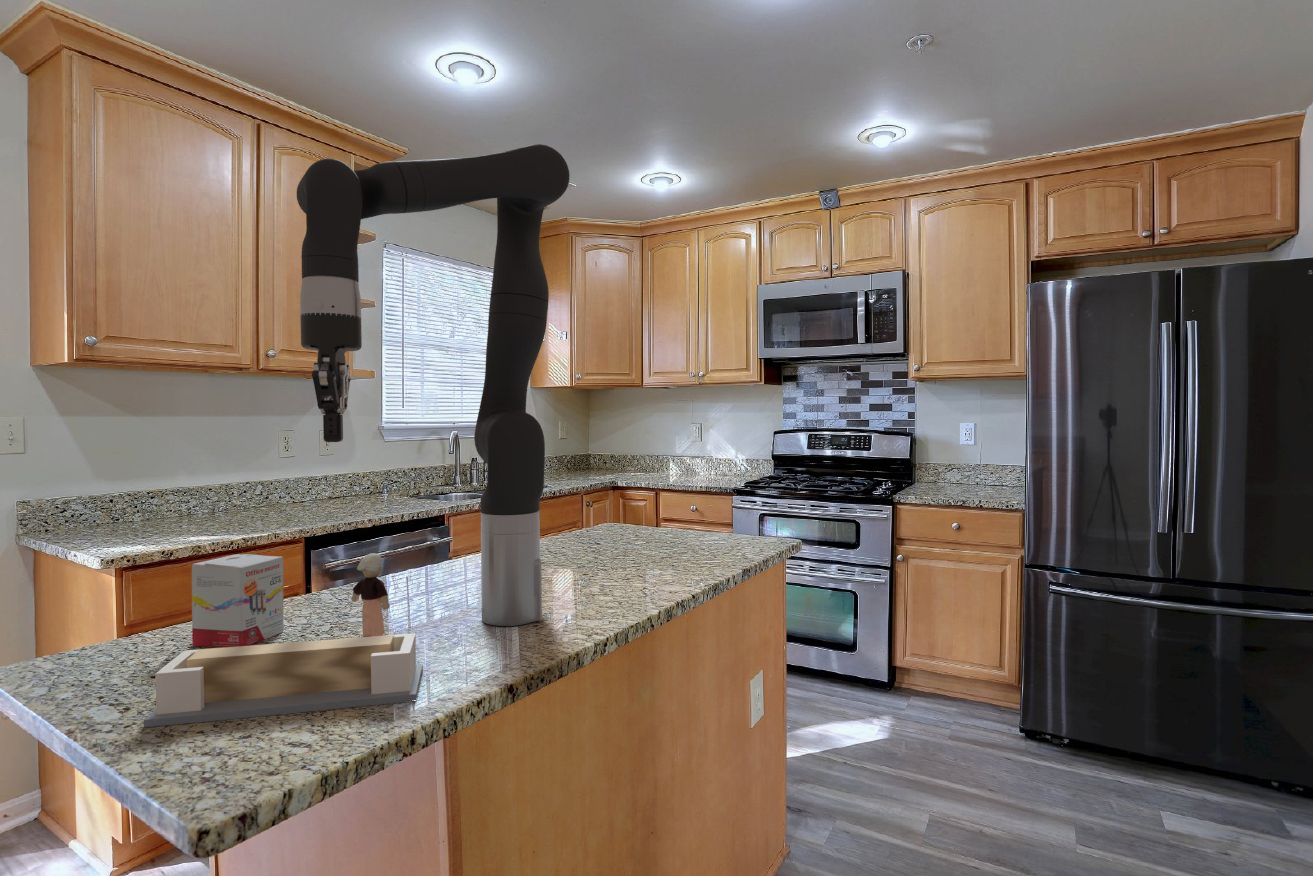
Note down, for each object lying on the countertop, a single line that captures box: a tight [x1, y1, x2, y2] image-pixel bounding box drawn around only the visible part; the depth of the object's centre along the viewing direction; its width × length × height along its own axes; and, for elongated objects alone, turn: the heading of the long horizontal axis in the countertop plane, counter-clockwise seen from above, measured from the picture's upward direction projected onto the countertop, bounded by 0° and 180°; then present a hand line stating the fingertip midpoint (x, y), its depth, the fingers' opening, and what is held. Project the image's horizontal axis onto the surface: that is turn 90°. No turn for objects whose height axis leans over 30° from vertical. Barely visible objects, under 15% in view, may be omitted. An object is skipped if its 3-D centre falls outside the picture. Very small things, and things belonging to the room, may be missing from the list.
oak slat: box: [187, 634, 395, 703], centre depth 81 cm, size 21×4×5 cm, turn 104°
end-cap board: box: [143, 632, 424, 728], centre depth 81 cm, size 27×10×5 cm, turn 104°
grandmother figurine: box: [350, 552, 391, 637], centre depth 102 cm, size 8×4×13 cm, turn 71°
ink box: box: [191, 553, 285, 648], centre depth 103 cm, size 9×9×12 cm
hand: (333, 441), depth 96 cm, fingers closed
